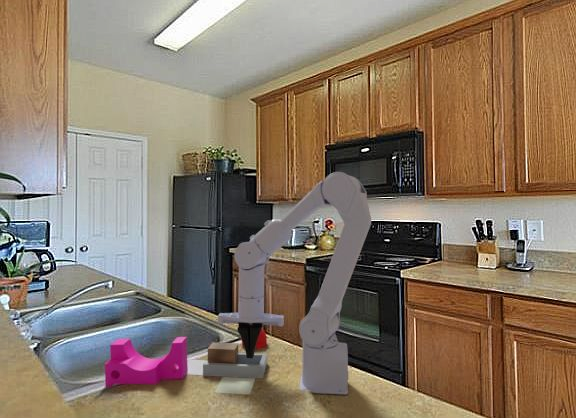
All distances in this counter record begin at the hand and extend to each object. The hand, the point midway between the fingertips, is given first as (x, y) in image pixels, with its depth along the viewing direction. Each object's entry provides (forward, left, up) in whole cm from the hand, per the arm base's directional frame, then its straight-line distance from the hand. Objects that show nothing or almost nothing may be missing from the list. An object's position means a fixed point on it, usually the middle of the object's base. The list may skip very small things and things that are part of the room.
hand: (250, 356), depth 86 cm
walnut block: (+6, 0, -3) cm, 7 cm away
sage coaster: (+2, +8, -3) cm, 9 cm away
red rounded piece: (+2, -16, -4) cm, 17 cm away
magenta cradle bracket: (+21, +6, -3) cm, 22 cm away
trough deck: (+6, 0, -3) cm, 7 cm away
